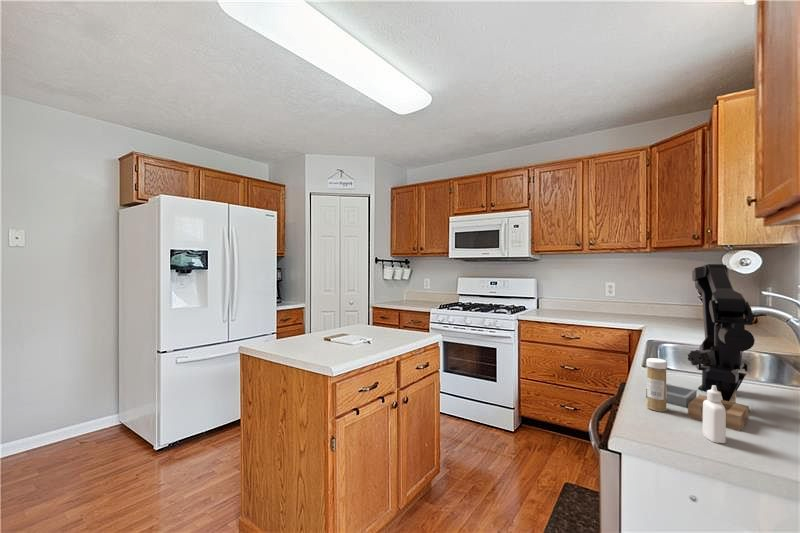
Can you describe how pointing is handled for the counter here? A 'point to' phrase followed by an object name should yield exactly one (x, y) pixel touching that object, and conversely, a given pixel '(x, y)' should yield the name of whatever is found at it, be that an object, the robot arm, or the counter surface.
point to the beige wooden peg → (732, 398)
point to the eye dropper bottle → (714, 417)
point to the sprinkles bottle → (656, 384)
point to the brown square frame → (734, 412)
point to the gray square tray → (679, 395)
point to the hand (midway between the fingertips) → (727, 400)
